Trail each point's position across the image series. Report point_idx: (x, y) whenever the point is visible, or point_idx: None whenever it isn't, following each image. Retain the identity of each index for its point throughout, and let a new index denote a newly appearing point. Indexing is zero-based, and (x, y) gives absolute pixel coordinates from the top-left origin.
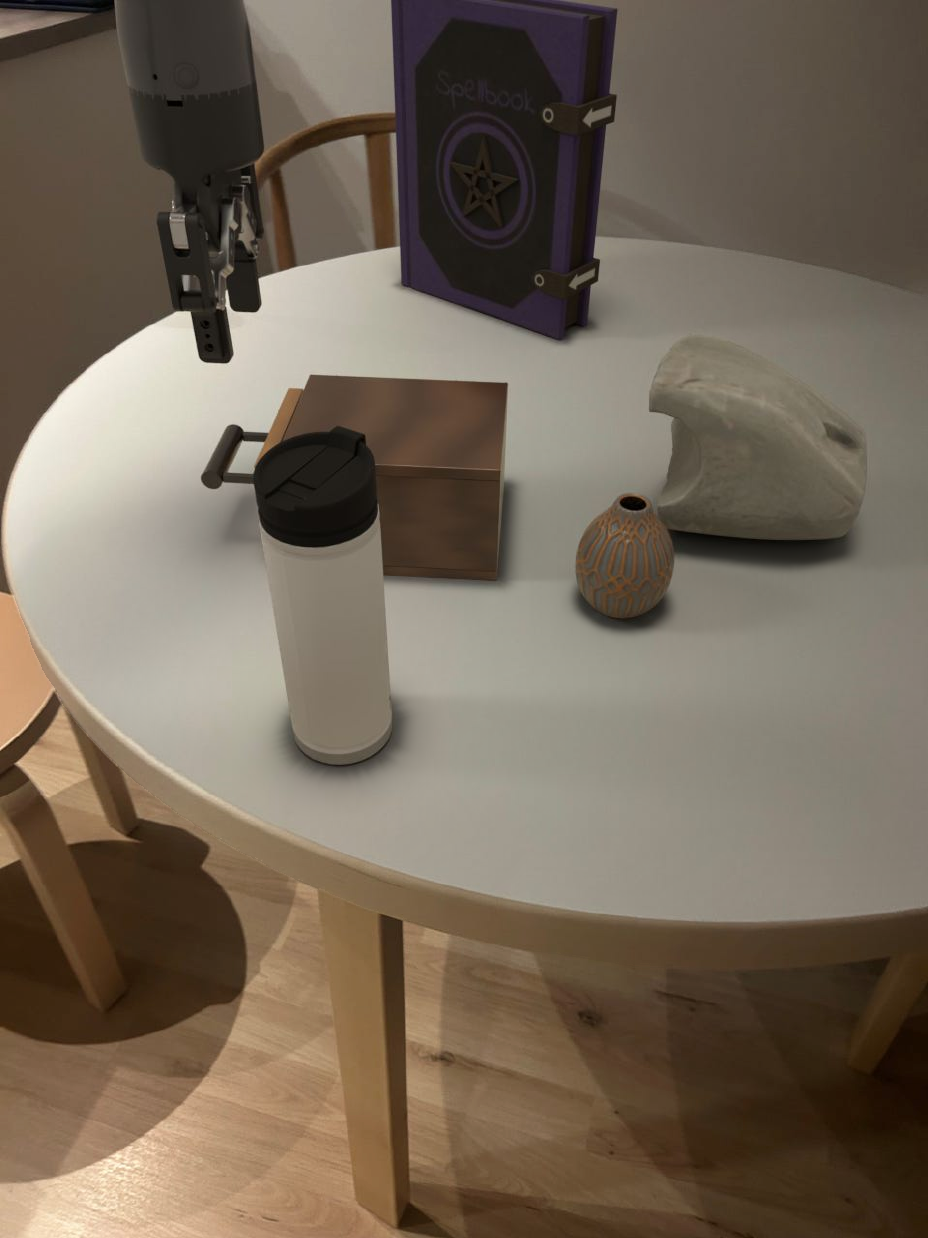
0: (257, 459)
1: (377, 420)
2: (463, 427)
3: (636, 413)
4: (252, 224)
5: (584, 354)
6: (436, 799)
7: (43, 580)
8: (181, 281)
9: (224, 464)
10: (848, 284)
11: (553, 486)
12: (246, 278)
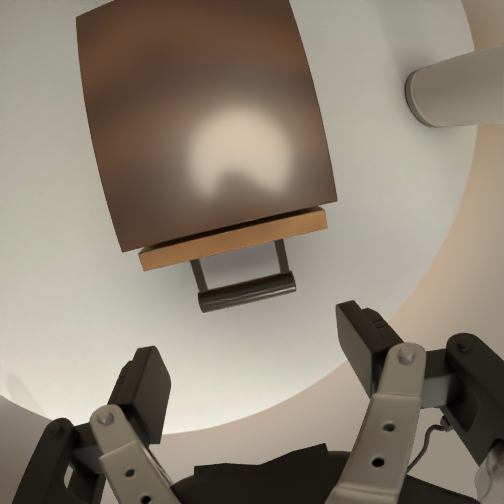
0: (314, 230)
1: (207, 111)
2: (194, 12)
3: (7, 27)
4: (135, 468)
5: None
6: (445, 46)
7: None
8: (459, 416)
9: (272, 280)
10: None
11: None
12: (148, 394)
